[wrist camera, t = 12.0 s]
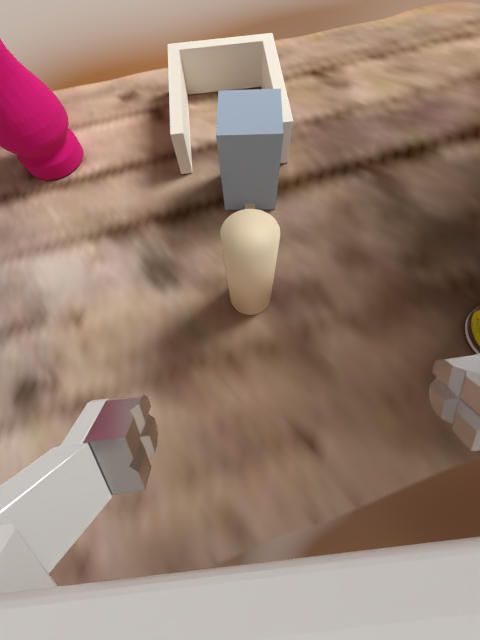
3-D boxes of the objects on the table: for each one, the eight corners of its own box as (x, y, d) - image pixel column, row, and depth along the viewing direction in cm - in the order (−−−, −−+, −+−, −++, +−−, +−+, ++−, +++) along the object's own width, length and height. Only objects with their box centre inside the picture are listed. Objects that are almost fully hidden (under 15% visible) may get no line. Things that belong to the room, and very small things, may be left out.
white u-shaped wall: (177, 89, 36) (167, 44, 32) (269, 79, 36) (272, 32, 32) (181, 174, 31) (170, 134, 27) (287, 162, 31) (293, 121, 27)
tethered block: (226, 171, 31) (217, 76, 23) (273, 170, 31) (282, 74, 22) (221, 315, 25) (207, 259, 17) (279, 314, 25) (293, 258, 17)
